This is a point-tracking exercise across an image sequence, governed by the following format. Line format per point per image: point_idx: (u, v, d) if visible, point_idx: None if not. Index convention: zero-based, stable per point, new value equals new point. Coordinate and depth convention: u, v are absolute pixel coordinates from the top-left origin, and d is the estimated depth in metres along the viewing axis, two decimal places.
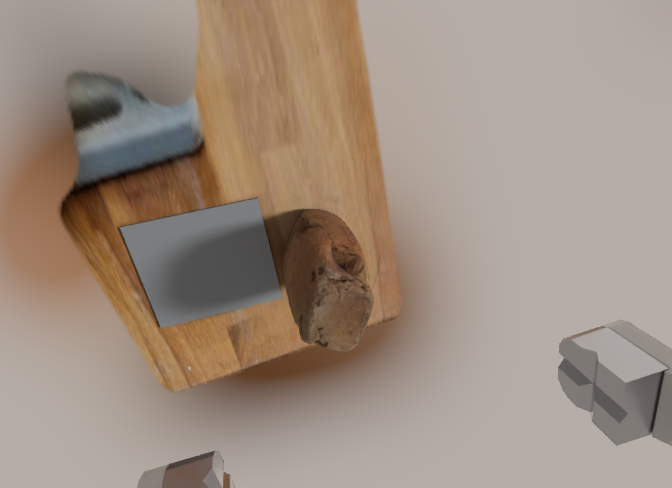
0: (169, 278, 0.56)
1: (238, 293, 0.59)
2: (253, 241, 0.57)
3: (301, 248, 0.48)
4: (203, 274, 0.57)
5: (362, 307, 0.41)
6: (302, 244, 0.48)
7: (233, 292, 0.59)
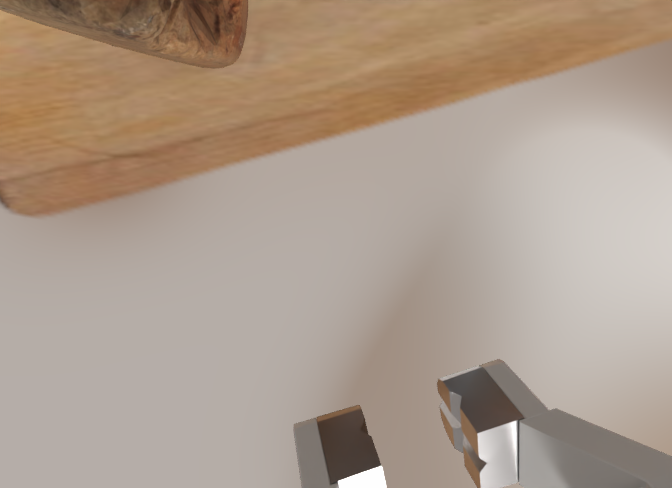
0: None
1: None
2: None
3: None
4: None
5: None
6: None
7: None
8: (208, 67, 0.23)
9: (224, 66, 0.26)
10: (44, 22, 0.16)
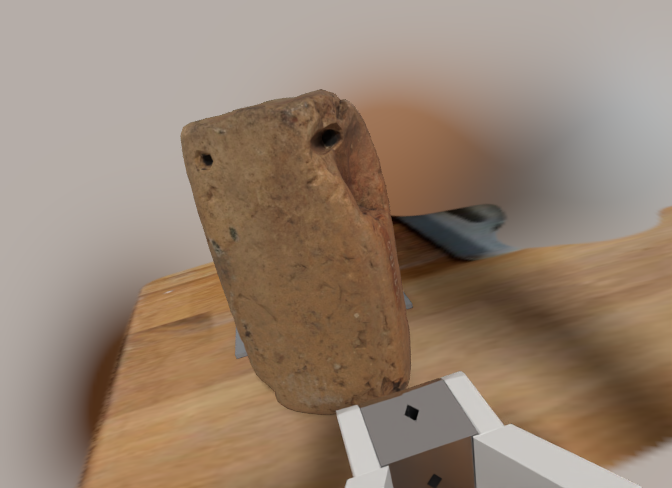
0: None
1: None
2: None
3: None
4: None
5: None
6: None
7: None
8: (363, 303, 0.22)
9: (384, 333, 0.23)
10: (235, 208, 0.21)
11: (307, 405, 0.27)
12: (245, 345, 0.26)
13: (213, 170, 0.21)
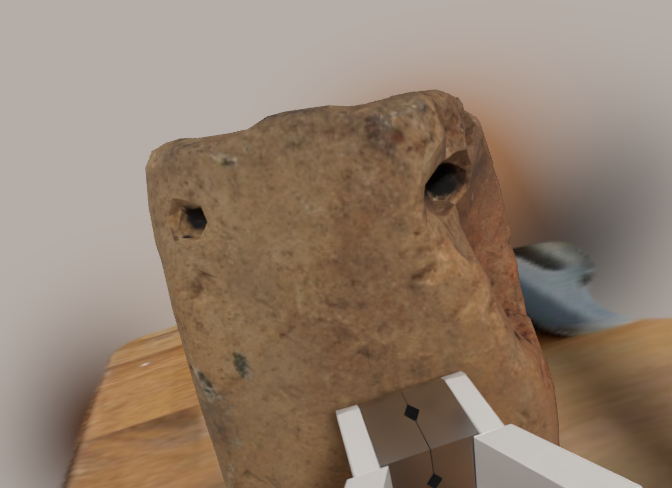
0: None
1: None
2: None
3: None
4: None
5: None
6: None
7: None
8: None
9: None
10: (249, 318, 0.10)
11: None
12: None
13: (207, 241, 0.10)
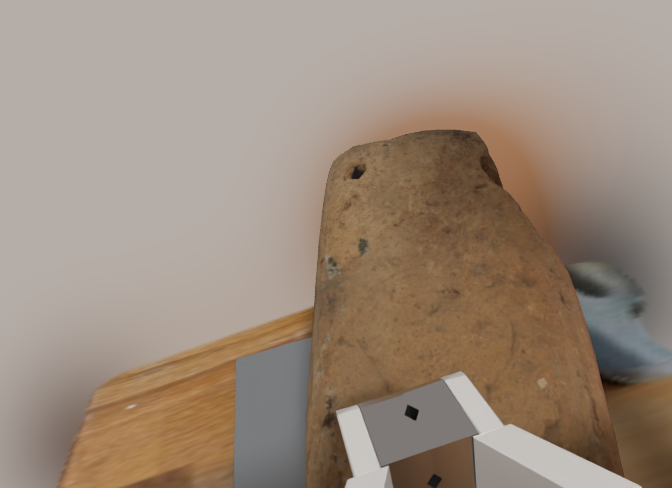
0: None
1: (277, 477, 0.23)
2: None
3: None
4: None
5: None
6: None
7: (281, 466, 0.24)
8: (554, 361, 0.13)
9: (595, 439, 0.12)
10: (376, 217, 0.18)
11: None
12: (313, 452, 0.14)
13: (363, 178, 0.19)
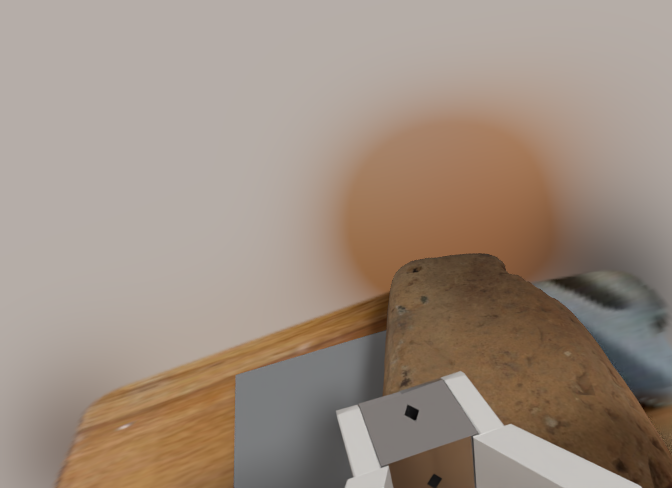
0: (334, 377, 0.30)
1: None
2: None
3: None
4: None
5: None
6: None
7: None
8: (574, 344, 0.18)
9: (616, 385, 0.16)
10: (432, 287, 0.25)
11: None
12: None
13: (421, 271, 0.27)
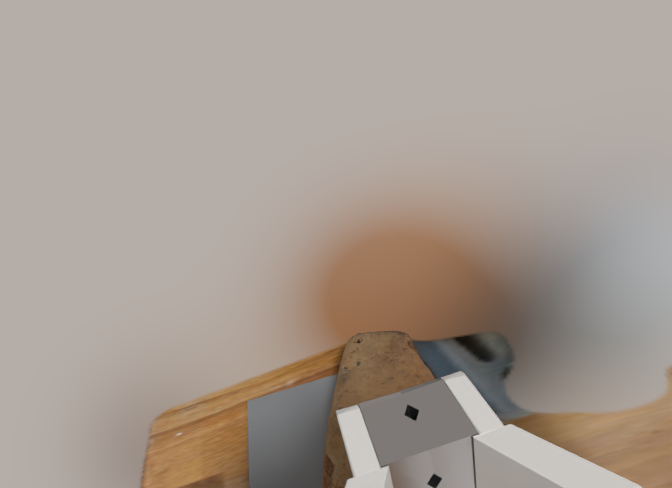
0: (308, 404, 0.48)
1: (274, 481, 0.40)
2: None
3: None
4: (309, 436, 0.44)
5: None
6: None
7: (276, 474, 0.41)
8: None
9: None
10: (365, 355, 0.44)
11: None
12: (331, 424, 0.36)
13: (361, 343, 0.46)
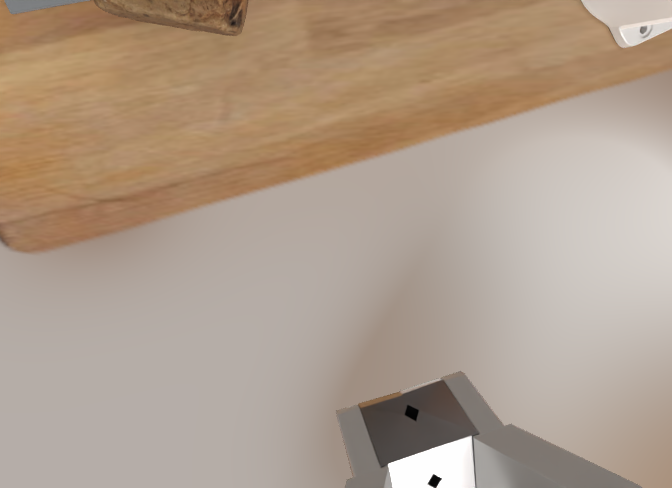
0: None
1: None
2: None
3: None
4: None
5: None
6: None
7: None
8: None
9: None
10: None
11: None
12: None
13: None
